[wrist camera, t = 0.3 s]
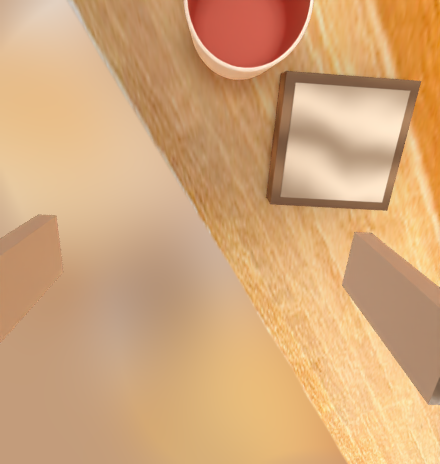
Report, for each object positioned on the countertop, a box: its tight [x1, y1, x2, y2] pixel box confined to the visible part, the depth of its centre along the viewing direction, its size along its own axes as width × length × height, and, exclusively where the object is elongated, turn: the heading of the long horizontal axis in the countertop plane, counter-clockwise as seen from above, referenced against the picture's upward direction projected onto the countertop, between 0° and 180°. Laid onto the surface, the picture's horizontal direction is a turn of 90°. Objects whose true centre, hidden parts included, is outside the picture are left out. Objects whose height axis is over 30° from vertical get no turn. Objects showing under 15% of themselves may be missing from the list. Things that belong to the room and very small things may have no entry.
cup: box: [184, 0, 314, 80], centre depth 29 cm, size 10×10×10 cm
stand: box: [266, 71, 421, 210], centre depth 37 cm, size 14×14×3 cm
